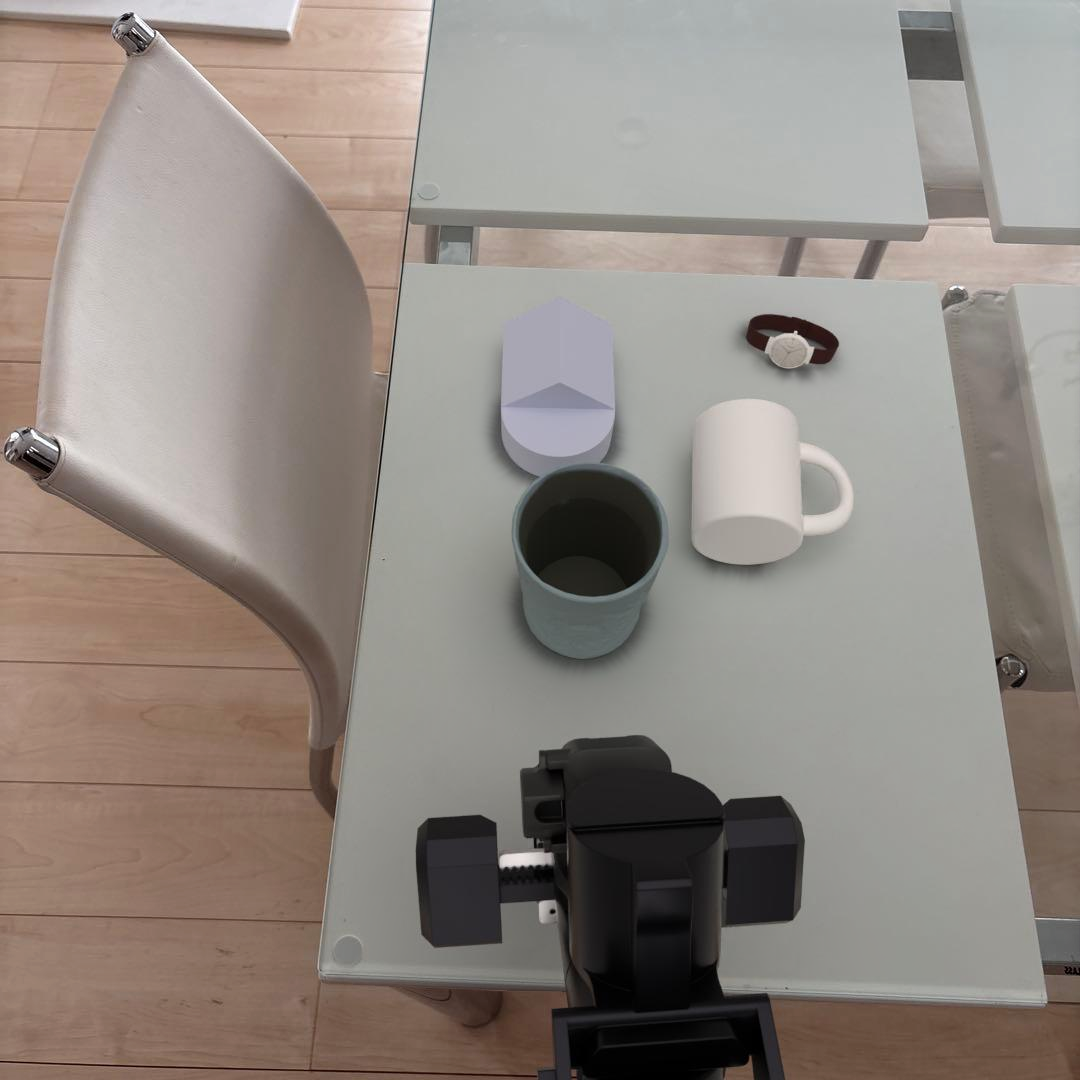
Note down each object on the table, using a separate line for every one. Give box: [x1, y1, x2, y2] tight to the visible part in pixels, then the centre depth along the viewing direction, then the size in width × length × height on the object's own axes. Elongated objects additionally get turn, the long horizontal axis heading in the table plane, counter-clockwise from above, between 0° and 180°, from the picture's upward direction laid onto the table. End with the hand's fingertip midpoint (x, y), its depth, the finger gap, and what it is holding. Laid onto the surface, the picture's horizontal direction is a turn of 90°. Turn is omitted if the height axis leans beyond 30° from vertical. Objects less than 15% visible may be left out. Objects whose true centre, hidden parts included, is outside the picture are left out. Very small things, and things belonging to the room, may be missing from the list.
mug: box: [690, 398, 855, 566], centre depth 72 cm, size 12×10×8 cm
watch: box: [745, 313, 840, 369], centre depth 81 cm, size 8×5×4 cm, turn 73°
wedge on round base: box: [500, 295, 616, 478], centre depth 76 cm, size 9×7×13 cm
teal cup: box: [511, 462, 670, 660], centre depth 66 cm, size 10×10×12 cm
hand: (590, 781), depth 55 cm, fingers closed
